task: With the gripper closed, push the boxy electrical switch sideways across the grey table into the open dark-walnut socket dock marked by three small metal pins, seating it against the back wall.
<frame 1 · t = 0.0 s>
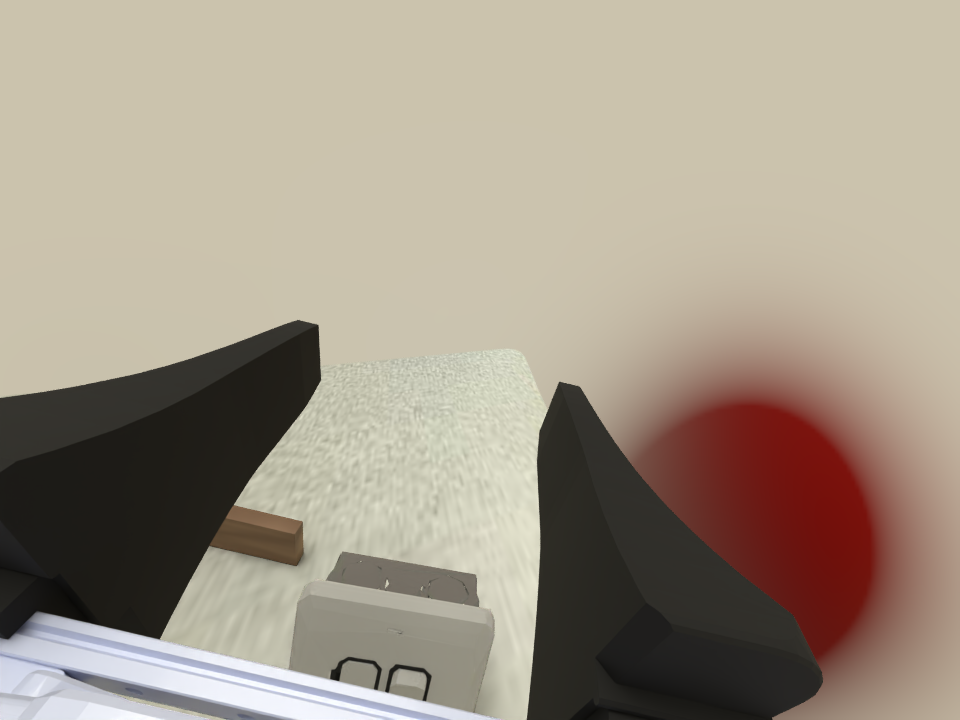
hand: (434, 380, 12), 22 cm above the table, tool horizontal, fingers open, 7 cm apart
electrical switch: (379, 693, 22), on the table
socket dock: (137, 640, 22), on the table
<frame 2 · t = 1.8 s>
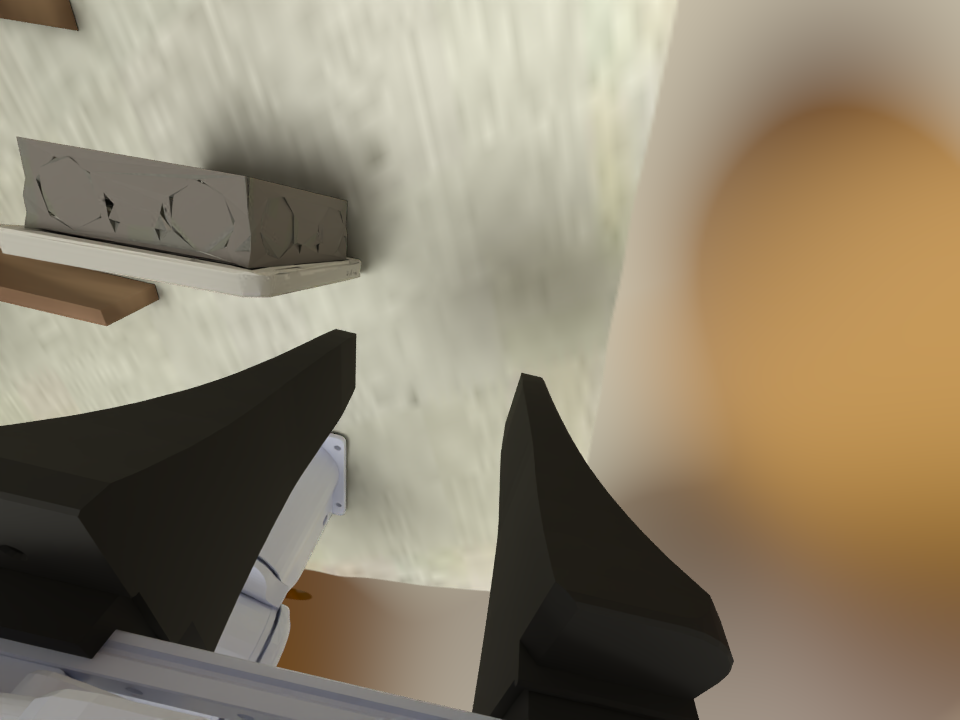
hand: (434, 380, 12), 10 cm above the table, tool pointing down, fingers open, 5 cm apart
electrical switch: (275, 208, 20), on the table
socket dock: (9, 152, 20), on the table
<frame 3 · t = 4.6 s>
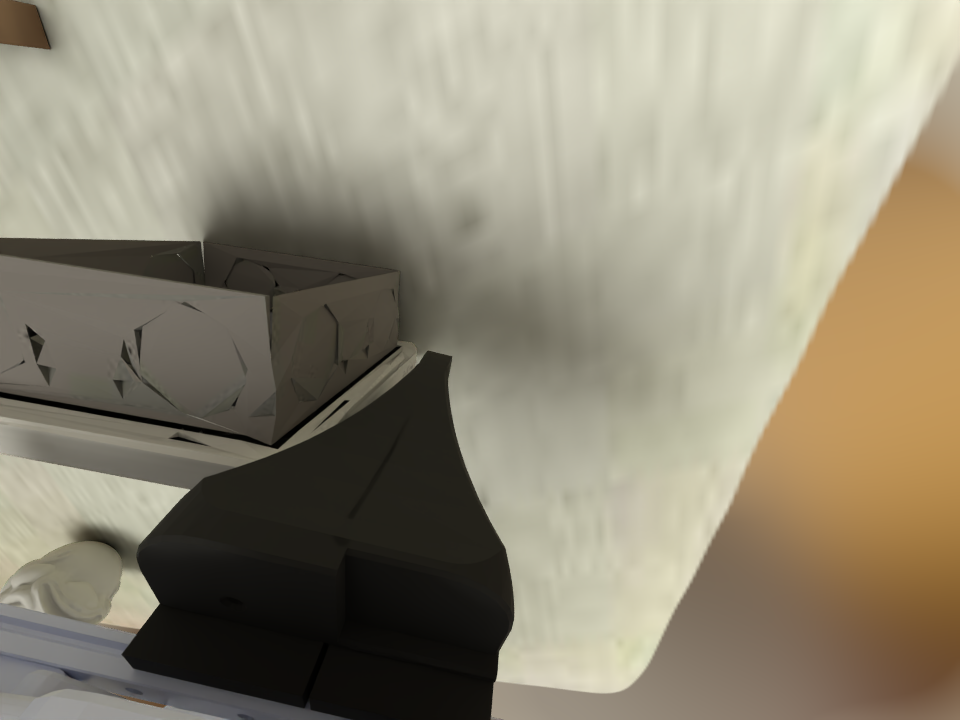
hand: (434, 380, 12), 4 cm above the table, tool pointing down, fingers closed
grey rounded carved piece: (111, 543, 29), on the table
electrical switch: (300, 279, 15), on the table, touching gripper
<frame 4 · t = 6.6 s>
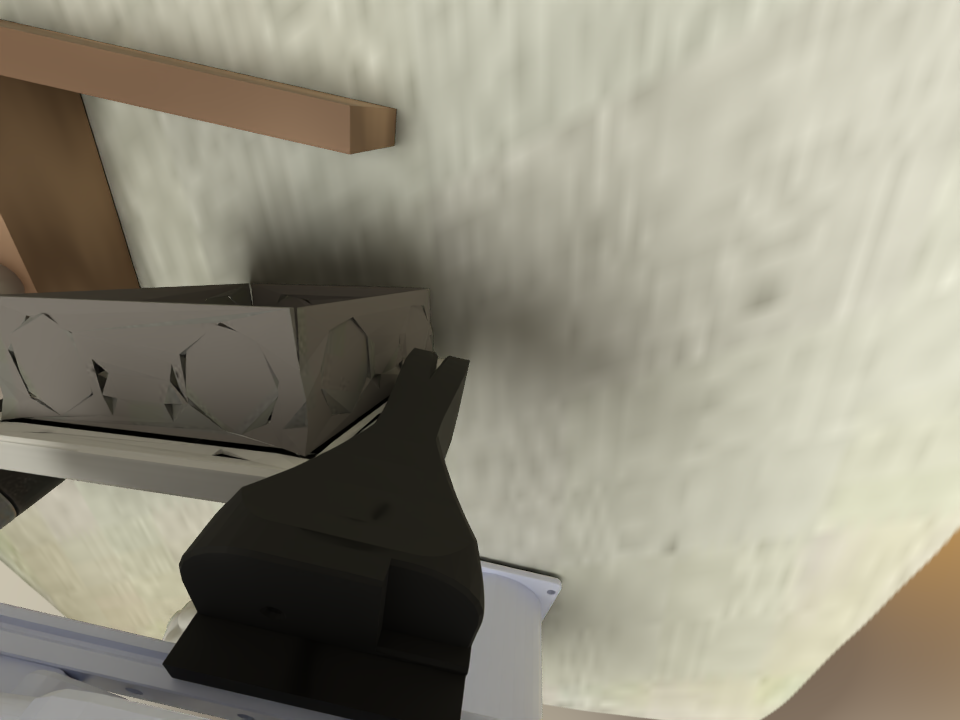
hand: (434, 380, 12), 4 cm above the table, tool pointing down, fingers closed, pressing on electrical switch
grey rounded carved piece: (251, 579, 29), on the table
electrical switch: (338, 308, 16), on the table, touching gripper
electronic device: (28, 382, 21), on the table
socket dock: (238, 280, 16), on the table
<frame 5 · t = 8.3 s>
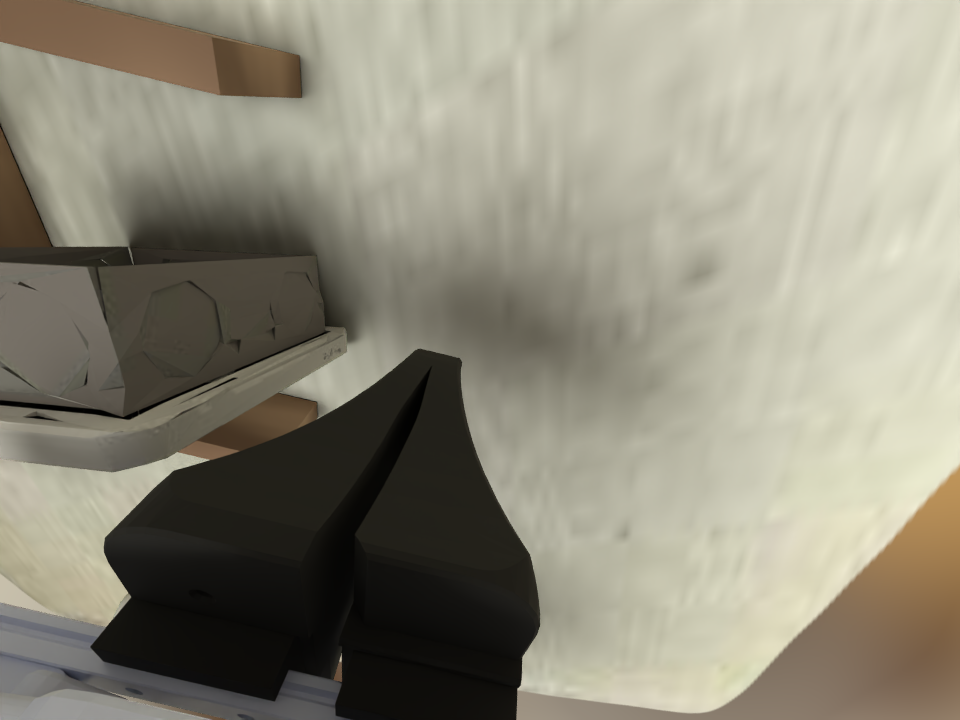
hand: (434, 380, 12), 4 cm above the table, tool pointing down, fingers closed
electrical switch: (228, 275, 15), on the table
socket dock: (156, 247, 15), on the table
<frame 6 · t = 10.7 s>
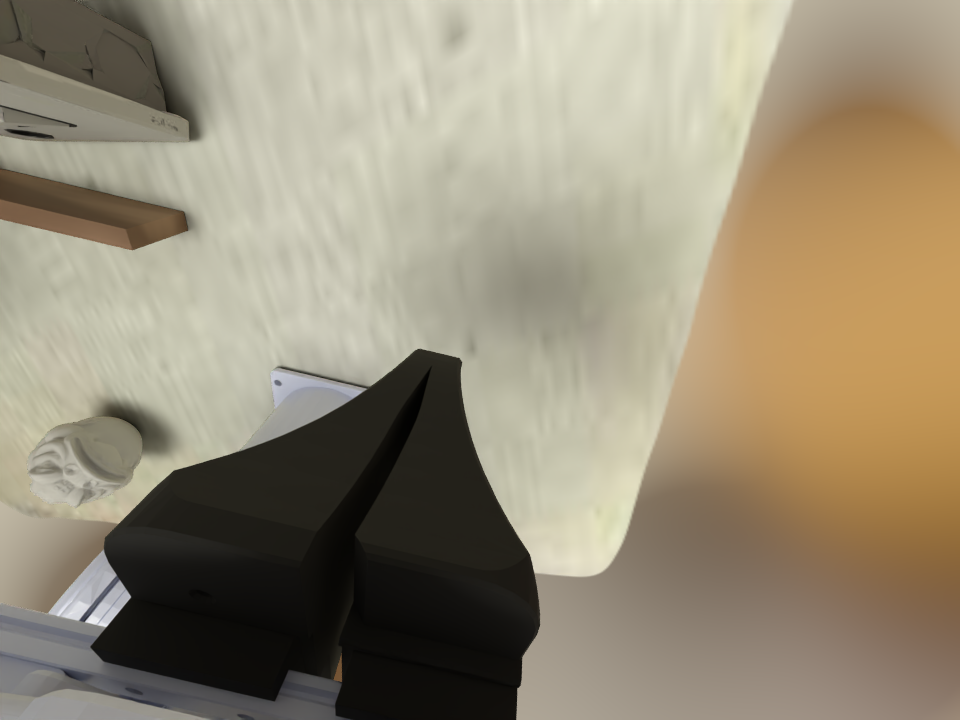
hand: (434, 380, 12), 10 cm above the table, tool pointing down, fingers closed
grey rounded carved piece: (132, 424, 31), on the table
electrical switch: (87, 73, 18), on the table
socket dock: (21, 43, 17), on the table
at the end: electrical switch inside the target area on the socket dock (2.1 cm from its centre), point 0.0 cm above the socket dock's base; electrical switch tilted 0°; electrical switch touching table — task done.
